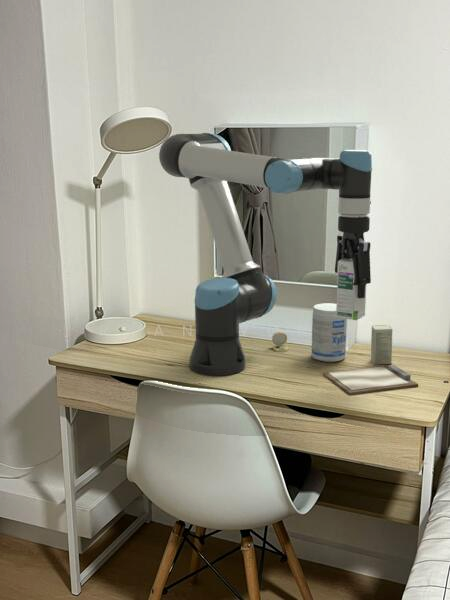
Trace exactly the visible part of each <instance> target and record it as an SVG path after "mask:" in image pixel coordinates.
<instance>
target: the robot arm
mask: <svg viewBox="0 0 450 600" xmlns="http://www.w3.org/2000/svg"><path fill="white" fill-rule="evenodd" d="M158 158H159V163H160V165H161V167H162V169H163V171H164V172H166V173H167V174H168V175H170V176H171V177H174V178H185V179H188V181H189V184H190V187H191V188H192V189H194V190H196V191H197V192H198V194H199V197H200V201H201V204H202V206H203V210H204V213H205V216H206V219H207V223H208V225H209V230H210V231H211V235H212V237H213V238H212V239H213V242H214V244H215V247H216V250H217V253H218V256H219V259H220V263H221V265H222V268H223V273H222V276H221V277H218V278H211V279H210V278H209V279H206V280H204V281H202V282H200V283H199V284H198V285H197V286H196V288H195V294H194V295H195V296H194V312H195V313H194V314H195V315H194V318H195V320H194V321H195V340H194V344H193V347H192V349H191V353H190V355H189V369H190V370H191V371H193V372H194V373H197V374H201V375H205V376H206V375H207V376H228V375H233V374H235V375H236V374H238V373H240V372H242V371H243V370H245V368H246V357H245V354H244V350H243V347H242V344H241V341H240V324H242V323H245V322H248V321H252V320H254V319H259V318H262V317H263V316H265V315H266V314H269V313H271V311H272V310H273V308H274V306H275V303H276V302H277V297H278V296H277V295H278V293H277V292H278V291H277V287H276V284H275V282H274V281H273V279H272V278H270V277H269V276H268V275H266V274H264V273H263V271H262V267H261V266H260V265H259V264H257V263H256V262H254V260H253V257H252V255H251V252H250V251H251V250H250V248H249V244H248V242H247V241H248V240H247V239H246V236H245V232H244V230H243V225H242V223H241V221H240V218H239V217H240V216H239V214H238V210H237V208H236V205H235V202H234V199H233V195H232V192H231V190H230V186H229V183H228V182H231V183H238V184H242V185H248V186H254V187H260V188H265V189H270V191H272V192H273V193H276V194H284V195H287V194H291V193H297V192H303V191H312V190H314V191H315V190H338V207H337V208H338V209H337V213H338V214H339V215H338V217H337V218H338V219H337V220H338V221H337V230H338V232H341V233H343V234H340V235H337V236H336V243H337V245H336V256H335V265H334V273H335V274H337V269H338V261H339V260H341V259H344V258H346V259H352V260H353V267H354V274H355V281H356V282H355V283H353V285H354V294H353V311H362V310H364V309H365V310H366V304H365V285H366V286H367V284H371V282H372V280H371V279H372V278H371V277H372V275H371V257H370V256H371V254H370V252H371V251H370V250H371V242H370V241H365V237H364V234H365V233H367V232H368V231H370V220H371V217H370V216H369V214H370V212H371V205H372V201H371V189H372V188H371V185H372V171H373V168H372V167H373V166H372V165H373V164H372V163H373V162H372V153H371V151H369V150H368V149H366V150H365V149H345V150H344V149H343V150H341V151H340V153H339V156H338V157H336V158H331V157H316V156H315V157H314V156H312V157H303V158H299V159H288V158H282V157H275V156H268V155H262V154H261V155H260V154H254V153H248V152H241V151H234V150H232V149H231V146H230V145H229V143H228V141H227V140H225V138H223V137H222V136H220V135H219V134H214V133H208V132H201V133H177V134H172V135H171V136H169V137H168V138H167V139H165V140H164V142H162V144H161V146H160V148H159V153H158Z"/></svg>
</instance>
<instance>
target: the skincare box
mask: <svg viewBox="0 0 450 600" xmlns="http://www.w3.org/2000/svg"><path fill="white" fill-rule="evenodd" d="M370 341H371V347H370V348H371V350H370V361H371V363H372V364H373V365H390V364H392V361H393V360H392V358H393V357H392V355H393V354H392V353H393V351H392V350H393V328H392V327H391V326H390V324H380V325H378V324H377V325H375V324H373V325H371V340H370Z"/></svg>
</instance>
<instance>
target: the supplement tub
mask: <svg viewBox="0 0 450 600" xmlns="http://www.w3.org/2000/svg"><path fill="white" fill-rule="evenodd" d="M336 307H337V303H332V302H331V303H329V302H328V303H327V302H326V303H324V302H322V303H318V304H317V303H316V304H315V305H314V306H313V309H312V322H311V323H312V325H311V326H312V327H311V351H310V352H311V357H312V358H313V359H315V360H317V361H320V362H327V363H328V362H329V363H330V362H332V363H335V362H339V361H342V360H344V359H345V357H346V350H347V349H346V345H347V343H346V341H347V329H348V327H347V326H348V323H347V322H348V319H344V318H336Z"/></svg>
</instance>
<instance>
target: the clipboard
mask: <svg viewBox="0 0 450 600" xmlns="http://www.w3.org/2000/svg"><path fill="white" fill-rule="evenodd" d="M322 375H323V376H324V377H326V378H327V379H329V380H330V381H331V382H332V383H333V384H335V385H336V386H337V387H339V389H341V390H342V391H344V392H345V393H347V394H348V395H349V396H351V395H352V396H353V395H361V394H369V393H376V392H382V391H383V392H384V391H393V390H400V389H409V388H416V387H419V383H418V382H416V381H414V380H412V379H411V375H412V374H410V373H408V372H406V371H404V370H403V368H400V367H398V366H397V365H395V364H392V365H390V364H384V365H378V366H368V367H359V368H358V367H357V368H353V369H352V368H351V369H343V370H342V369H341V370H332V371H324V372H323V373H322Z"/></svg>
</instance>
